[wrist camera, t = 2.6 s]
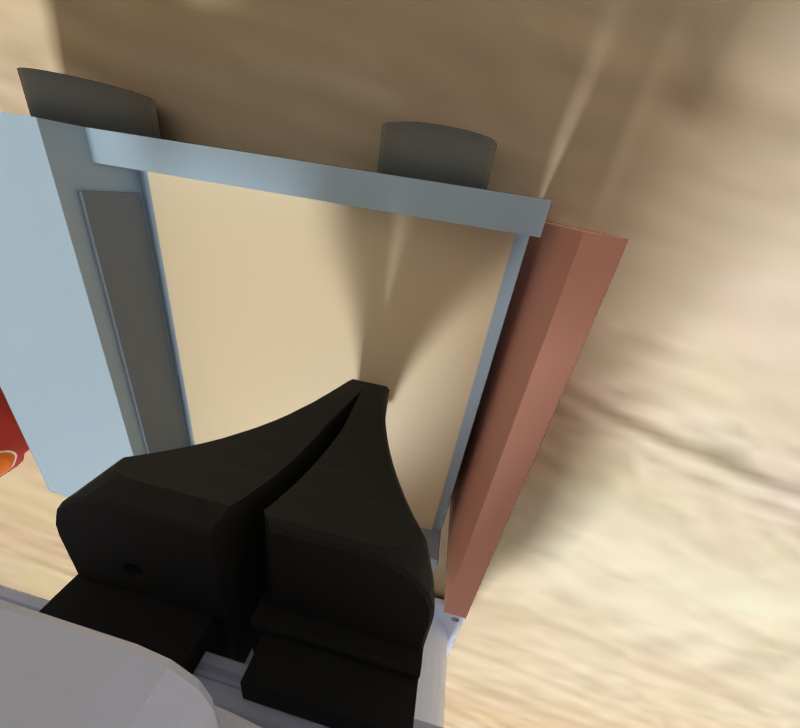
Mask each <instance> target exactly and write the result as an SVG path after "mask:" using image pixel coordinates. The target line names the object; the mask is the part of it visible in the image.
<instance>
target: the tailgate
mask: <svg viewBox="0 0 800 728" xmlns="http://www.w3.org/2000/svg"><path fill="white" fill-rule="evenodd" d="M628 240H629V239H624V238H620V237H615V236H611V235H606V234H602V233H597V232H592V231H588V230H583V229H579V228H574V227H570V226H565V225H561V224H555V223H549V222H545V224H544V227H543V230H542V233H541V237H534V236H529V240H528V243H527V246H526V250H525V253H524V256H523V260H522V263H521V266H520V270H519V273H518V276H517V280H516V283H515V286H514V289H513V293H512V296H511V299H510V303H509V306H508V309H507V313H506V316H505V319H504V323H503V326H502V329H501V333H500V336H499V339H498V343H497V346H496V349H495V353H494V356H493V359H492V362H491V366H490V369H489V372H488V376H487V379H486V382H485V386H484V389H483V392H482V396H481V399H480V402H479V406H478V409H477V412H476V416H475V419H474V422H473V425H472V429H471V432H470V435H469V439H468V442H467V445H466V449H465V452H464V455H463V459H462V462H461V465H460V469H459V472H458V475H457V479H456V482H455V485H454V489H453V492H452V495H451V503H450V519H449V535H448V551H447V567H446V583H445V599H444V612H445V613H449V614H452V615H456V616H459V617H463V618H466V616H467V614H468V612H469V609H470V607H471V605H472V602H473V600H474V598H475V595H476V593H477V591H478V588H479V586H480V584H481V581H482V579H483V577H484V574H485V572H486V570H487V567H488V565H489V563H490V561H491V558H492V556H493V554H494V551H495V549H496V547H497V544H498V542H499V540H500V537H501V535H502V533H503V530H504V528H505V526H506V523H507V521H508V519H509V516H510V514H511V512H512V509H513V507H514V505H515V502H516V500H517V498H518V495H519V493H520V491H521V489H522V486H523V484H524V482H525V479H526V477H527V475H528V472H529V470H530V468H531V465H532V463H533V461H534V458H535V456H536V454H537V451H538V449H539V447H540V444H541V442H542V440H543V437H544V435H545V433H546V430H547V428H548V426H549V423H550V421H551V419H552V416H553V414H554V412H555V410H556V407H557V405H558V403H559V400H560V398H561V396H562V393H563V391H564V389H565V386H566V384H567V382H568V379H569V377H570V375H571V372H572V370H573V368H574V365H575V363H576V361H577V358H578V356H579V354H580V351H581V349H582V347H583V344H584V342H585V340H586V338H587V335H588V333H589V331H590V328H591V326H592V324H593V321H594V319H595V317H596V314H597V312H598V310H599V307H600V305H601V303H602V300H603V298H604V296H605V293H606V291H607V289H608V286H609V284H610V282H611V279H612V277H613V275H614V272H615V270H616V268H617V266H618V263H619V261H620V259H621V256H622V254H623V252H624V249H625V247H626V245H627V242H628Z"/></svg>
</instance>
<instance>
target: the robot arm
mask: <svg viewBox="0 0 800 728" xmlns="http://www.w3.org/2000/svg"><path fill="white" fill-rule="evenodd" d="M389 391H390V390H389V389H388V387H387V386H383V385H378V384H373V383H369V382H364V381H360V380H355V379H351V380H350V381H348V382H346V383H344V384H343V385H341V386H340V387H338V388H336V389H335V390H333V391H331V392H330V393H328V394H326V395H325V396H323V397H321V398H319V399H318V400H316V401H314V402H312V403H310V404H308V405H306V406H304V407H302V408H300V409H298V410H296V411H294V412H293V413H291V414H288V415H286V416H284V417H282V418H279V419H277V420H275V421H272V422H270V423H267V424H264V425H262V426H259V427H256V428H253V429H250V430H247V431H244V432H241V433H238V434H234V435H231V436H228V437H225V438H221V439H217V440H213V441H209V442H205V443H201V444H197V445H192V446H188V447H183V448H178V449H173V450H167V451H161V452H155V453H149V454H143V455H137V456H130V457H123V458H122V459H120V460H119V461H118V462H116V463H115V464H113V465H112V466H111V467H109V468H108V469H107V470H105V471H104V472H103V473H101V474H100V475H98V476H97V477H96V478H94V479H93V480H92V481H90V482H89V483H88V484H86V485H85V486H83V487H82V488H81V489H79V490H78V491H77V492H75V493H74V494H72V495H71V496H70V497H68V498H67V499H66V500H64V501H63V502H62V503H61V505H60V506H59V508H58V509H57V515H56V526H57V529H58V532H59V535H60V537H61V539H62V541H63V543H64V545H65V547H66V549H67V552H68V554H69V556H70V558H71V560H72V562H73V564H74V566H75V568H76V570H77V572H78V575H77V576H76V577H75V578H74V579H73V580H71V581H70V582H69V583H68V584H67V585H66V586H65V587H64V588H63V589H62V590H61V591H60V592H59V593H58V594H57V595H56V596H55V597H53V598H52V599H51V600H50V601H49V600H46V599H43V598H40V597H36V596H33V595H30V594H27V593H24V592H21V591H18V590H15V589H12V588H9V587H5V586H2V585H0V728H443V722H444V702H445V681H446V661H447V657H448V655H449V653H450V650H451V648H452V646H453V643H454V641H455V639H456V636H457V634H458V631H459V629H460V627H461V624H462V622H463V620H464V618H463V617H459V616H456V615H452V614H449V613H445V612H444V600H442V599H438V598H435V592H434V581H433V573H432V567H431V561H430V555H429V550H428V545H427V539H426V537H425V535H424V534H423V532H422V530H421V528H420V526H419V525H418V523H417V521H416V519H415V517H414V515H413V513H412V511H411V509H410V507H409V504H408V502H407V500H406V498H405V496H404V493H403V490H402V488H401V485H400V483H399V480H398V477H397V475H396V471H395V468H394V465H393V461H392V457H391V453H390V449H389V444H388V438H387V431H386V420H385V418H386V411H387V404H388V397H389Z"/></svg>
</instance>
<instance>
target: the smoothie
mask: <svg viewBox="0 0 800 728" xmlns="http://www.w3.org/2000/svg"><path fill="white" fill-rule="evenodd" d="M28 450H29V447H28V444H27V442H26V440H25V438H24V436H23V434H22V432H21V429H20V427H19V425H18V423H17V421H16V419H15V417H14V415H13V412H12V410H11V408H10V406H9V404H8V402H7V400H6V397H5V395H4V393H3V391H2V389H1V387H0V477H1V476H3V475H4V474H6V473H7V472H9V471H10V470H12V469H14V468H15V467H17V466H18V465H19V464H20V463H21V462H22V461H23V459H24V453H25V452H27V451H28Z"/></svg>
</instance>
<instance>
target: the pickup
mask: <svg viewBox="0 0 800 728" xmlns="http://www.w3.org/2000/svg"><path fill="white" fill-rule="evenodd" d="M17 70H18V74H19V77H20V81H21V84H22V87H23V91H24V94H25V98H26V101H27V105H28V108H29V111H30V115H31V116H24V115H18V114H11V113H5V112H0V387H1V389H2V391H3V393H4V395H5V397H6V400H7V402H8V404H9V406H10V408H11V410H12V412H13V415H14V417H15V419H16V421H17V423H18V425H19V427H20V429H21V432H22V434H23V436H24V438H25V440H26V442H27V444H28V447H29V449H30V451H31V453H32V455H33V457H34V459H35V462H36V464H37V466H38V468H39V470H40V472H41V474H42V476H43V479H44V481H45V483H46V485H47V487H48V489H49V491H50V492H54V493H57V494H61V495H64V496H68V497H70V496H71V495H72V494H74V493H75V492H77V491H78V490H79V489H81V488H82V487H83V486H85V485H86V484H88V483H89V482H90V481H92V480H93V479H94V478H96V477H97V476H98V475H100V474H101V473H103V472H104V471H105V470H107V469H108V468H109V467H111V466H112V465H113V464H115V463H116V462H118V461H119V460H120V459H122V458H123V457H130V456H137V455H143V454H149V453H155V452H161V451H167V450H173V449H178V448H183V447H188V446H192V445H197V444H201V443H205V442H209V441H213V440H217V439H221V438H225V437H228V436H231V435H234V434H238V433H241V432H244V431H247V430H250V429H253V428H256V427H259V426H262V425H264V424H267V423H270V422H272V421H275V420H277V419H279V418H282V417H284V416H286V415H288V414H291V413H293V412H294V411H296V410H298V409H300V408H302V407H304V406H306V405H308V404H310V403H312V402H314V401H316V400H318V399H319V398H321V397H323V396H325V395H326V394H328V393H330V392H331V391H333V390H335V389H336V388H338V387H340V386H341V385H343V384H344V383H346V382H348V381H350V380H351V379H355V380H360V381H364V382H369V383H373V384H378V385H383V386H387V387H388V389H389V390H390V391H389V397H388V404H387V411H386V418H385V420H386V431H387V438H388V444H389V449H390V453H391V457H392V461H393V465H394V468H395V471H396V475H397V477H398V480H399V483H400V485H401V488H402V490H403V493H404V496H405V498H406V500H407V502H408V504H409V507H410V509H411V511H412V513H413V515H414V517H415V519H416V521H417V523H418V525H419V526H420V528H421V530H422V532H423V534H424V535H425V537H426V539H427V545H428V550H429V555H430V561H431V567H432V572H435V569H436V566H437V563H438V557H439V545H440V534H441V528H442V525H443V522H444V518H445V515H446V512H447V508H448V505H449V502H450V498H451V495H452V492H453V489H454V485H455V482H456V479H457V475H458V472H459V469H460V465H461V462H462V459H463V455H464V452H465V449H466V445H467V442H468V439H469V435H470V432H471V429H472V425H473V422H474V419H475V416H476V412H477V409H478V406H479V402H480V399H481V396H482V392H483V389H484V386H485V382H486V379H487V376H488V372H489V369H490V366H491V362H492V359H493V356H494V353H495V349H496V346H497V343H498V339H499V336H500V333H501V329H502V326H503V323H504V319H505V316H506V313H507V309H508V306H509V303H510V299H511V296H512V293H513V289H514V286H515V283H516V280H517V276H518V273H519V270H520V266H521V263H522V260H523V256H524V253H525V250H526V246H527V243H528V240H529V236H534V237H541V233H542V230H543V227H544V224H545V221H546V218H547V214H548V211H549V208H550V205H551V202H552V200H548V199H541V198H535V197H529V196H522V195H516V194H509V193H503V192H497V191H490V190H486V189H487V184H488V180H489V176H490V171H491V167H492V163H493V159H494V154H495V150H496V146H497V143H496V142H495V141H494V140H492V139H491V138H488V137H486V136H483V135H480V134H477V133H474V132H470V131H466V130H462V129H458V128H453V127H447V126H442V125H435V124H427V123H418V122H389V123H385V124H383V125H382V133H381V143H380V154H379V164H378V173H375V172H369V171H362V170H356V169H350V168H343V167H337V166H330V165H324V164H318V163H311V162H305V161H298V160H292V159H286V158H279V157H273V156H266V155H260V154H254V153H247V152H241V151H234V150H228V149H222V148H215V147H209V146H202V145H196V144H190V143H183V142H177V141H170V140H164V139H161V136H160V129H159V123H158V116H157V110H156V103H155V101H154V100H153V99H151V98H149V97H146V96H143V95H140V94H138V93H134V92H131V91H128V90H125V89H121V88H118V87H114V86H110V85H107V84H103V83H99V82H95V81H91V80H87V79H83V78H78V77H74V76H69V75H65V74H60V73H55V72H50V71H44V70H38V69H31V68H17Z"/></svg>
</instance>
